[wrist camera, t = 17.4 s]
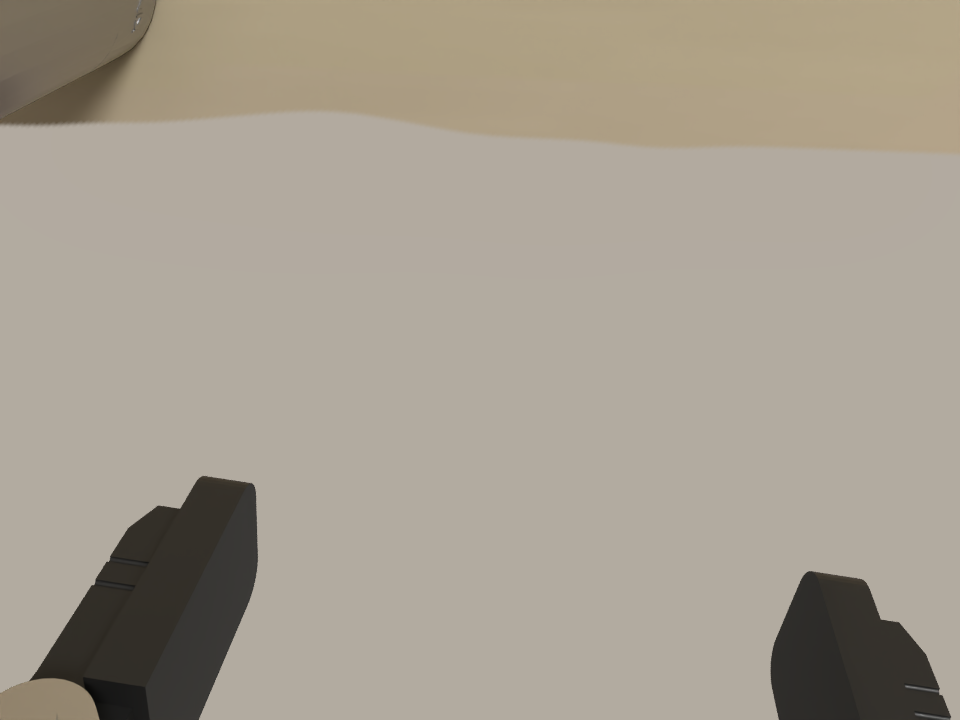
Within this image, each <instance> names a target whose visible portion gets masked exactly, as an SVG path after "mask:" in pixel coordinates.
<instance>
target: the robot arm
mask: <svg viewBox="0 0 960 720" xmlns="http://www.w3.org/2000/svg"><path fill="white" fill-rule="evenodd" d="M155 3H156V0H0V119H1V118H3V117H5V116H7V115H9V114H11V113H13V112H15V111H17V110H19V109H20V108H22V107H24V106H26V105H28V104H30V103H32V102H34V101H36V100H38V99H40V98H42V97H43V96H45V95H47V94H49V93H51V92H53V91H55V90H57V89H59V88H61V87H63V86H65V85H66V84H68V83H70V82H72V81H74V80H76V79H78V78H80V77H82V76H84V75H86V74H88V73H90V72H92V71H94V70H96V69H97V68H99V67H101V66H103V65H105V64H107V63H109V62H111V61H113V60H115V59H116V58H118V57H120V56H121V55H123V54H124V53H126V52H128V51H129V50H131V49H132V48H133V47H134V46H135V45H136V44H137V42H138V41H139V40H140V39H141V38H142V37H143V36H144V34H145V32H146V30H147V28H148V26H149V24H150V22H151V20H152V15H153V11H154V7H155ZM257 562H258V549H257V516H256V491H255V487H254V485H253V484H252V483H246V482H240V481H233V480H226V479H220V478H213V477H207V476H202V477H200V478H199V479H198V480H197V482H196V483H195V485H194V486H193V488H192V490H191V492H190V493H189V495H188V497H187V498H186V500H185V502H184V504H183V505H182V507H181V509H177V508H171V507H164V506H157V507H156V508H154V509H153V510H152V511H150V512H149V513H148V514H146V515H145V516H144V517H142V518H141V519H140V520H139V521H137V522H136V523H135V524H133V525H132V526H130V527H129V528H128V530H127V531H126V532H125V534H124V536H123V537H122V539H121V540H120V542H119V544H118V545H117V547H116V548H115V550H114V551H113V553H112V554H111V556H110V561H109V562H106V564H105V565H104V567H103V569H102V570H101V572H100V573H99V575H98V576H97V578H96V582H95V585H92V586H91V587H90V589H89V590H88V592H87V594H86V595H85V597H84V598H83V600H82V601H81V603H80V605H79V606H78V608H77V609H76V611H75V612H74V614H73V616H72V617H71V619H70V620H69V622H68V623H67V625H66V626H65V628H64V630H63V631H62V633H61V634H60V636H59V638H58V639H57V641H56V642H55V644H54V645H53V647H52V648H51V650H50V651H49V653H48V655H47V656H46V658H45V659H44V661H43V663H42V664H41V666H40V667H39V669H38V670H37V672H36V673H35V674H34V676H33V677H32V678H31V679H30V681H28V682H25V683H21V684H19V685H16V686H13V687H11V688H9V689H7V690H5V691H4V692H2V693H0V720H199V717H200V715H201V713H202V710H203V708H204V706H205V703H206V701H207V699H208V696H209V694H210V691H211V689H212V687H213V685H214V682H215V680H216V678H217V675H218V673H219V671H220V668H221V666H222V664H223V661H224V659H225V656H226V654H227V652H228V649H229V647H230V645H231V642H232V640H233V638H234V636H235V633H236V631H237V628H238V626H239V624H240V621H241V619H242V617H243V614H244V612H245V610H246V607H247V605H248V603H249V600H250V597H251V594H252V591H253V587H254V583H255V578H256V572H257ZM771 684H772V689H773V694H774V699H775V703H776V708H777V713H778V717H779V720H950V718H951V716H950V713H949V711H948V708H947V706H946V703H945V701H944V698H943V696H942V695H939V689H940V688H939V686H938V683H937V681H936V679H935V676H934V674H933V671H932V669H931V666H930V663H929V661H928V658H927V656H926V654H925V653H924V652H923V650H922V649H921V648H920V647H919V646H918V645H917V644H916V642H915V641H914V640H913V639H912V637H911V636H910V635H909V634H908V633H907V631H906V630H905V629H904V628H903V627H902V626H901V624H900V623H899V622H893V621H886V620H881V619H880V616H879V613H878V611H877V608H876V606H875V603H874V600H873V597H872V594H871V591H870V589H869V587H868V585H867V583H866V582H865V581H864V580H862V579H857V578H850V577H844V576H838V575H831V574H824V573H818V572H812V571H809V572H807V573H806V574H805V575H804V576H803V578H802V579H801V581H800V584H799V586H798V588H797V591H796V593H795V595H794V598H793V600H792V602H791V605H790V607H789V610H788V612H787V614H786V617H785V619H784V621H783V624H782V626H781V629H780V631H779V633H778V635H777V638H776V640H775V643H774V647H773V651H772V658H771Z"/></svg>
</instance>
